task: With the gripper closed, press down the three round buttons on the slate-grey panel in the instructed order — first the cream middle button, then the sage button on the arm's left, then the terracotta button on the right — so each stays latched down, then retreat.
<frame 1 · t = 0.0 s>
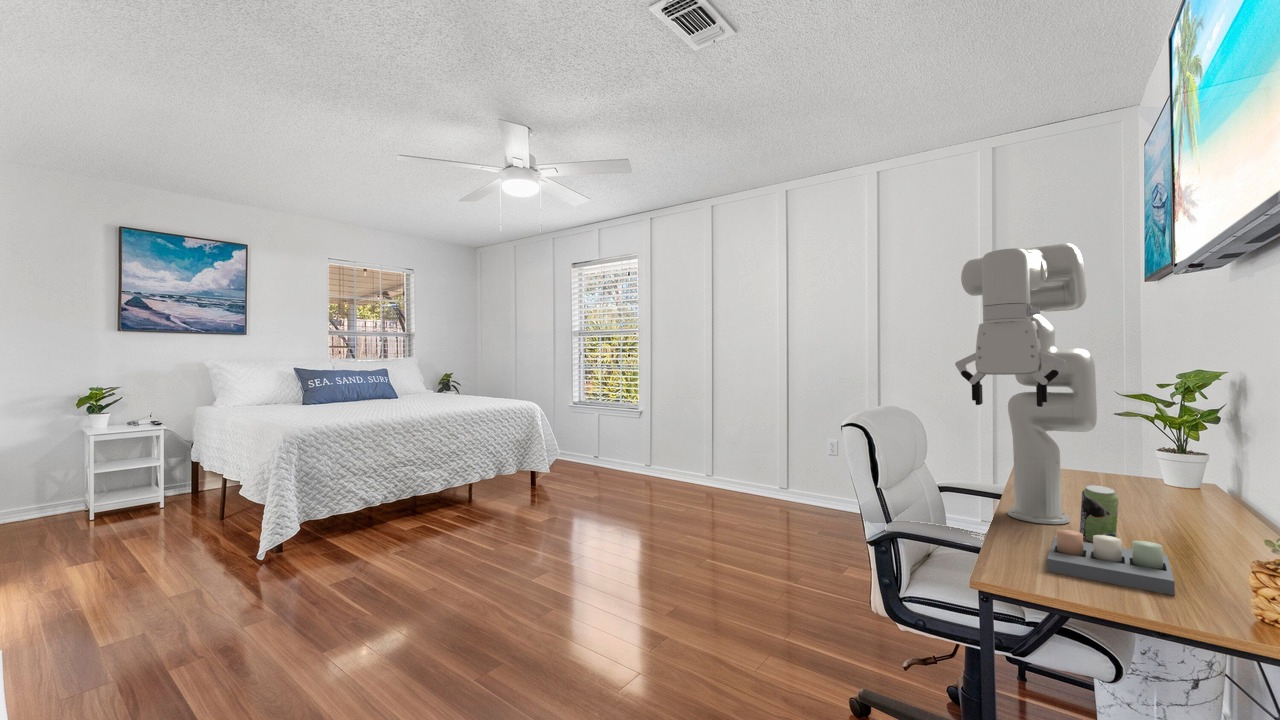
hand: (1008, 405, 102), 31 cm above the table, fingers open, 9 cm apart
beverage can: (1099, 542, 117), on the table
panel: (1107, 569, 102), on the table
sage button: (1147, 554, 98), point 4 cm above the table, slide at 0.0 cm
terracotta button: (1069, 542, 105), point 4 cm above the table, slide at 0.0 cm
cream button: (1107, 548, 101), point 4 cm above the table, slide at 0.0 cm
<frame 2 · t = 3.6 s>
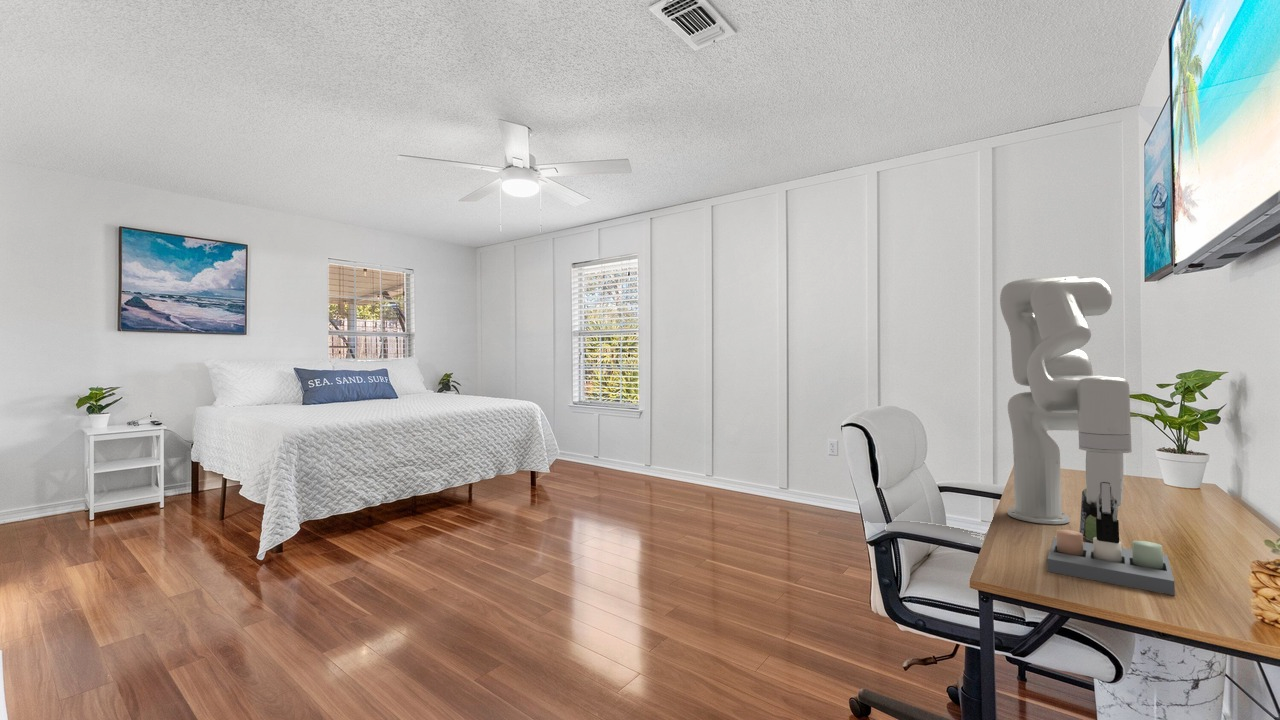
hand: (1107, 540, 101), 6 cm above the table, fingers closed
cream button: (1107, 550, 101), point 4 cm above the table, slide at 0.4 cm, touching gripper
everything else where it was.
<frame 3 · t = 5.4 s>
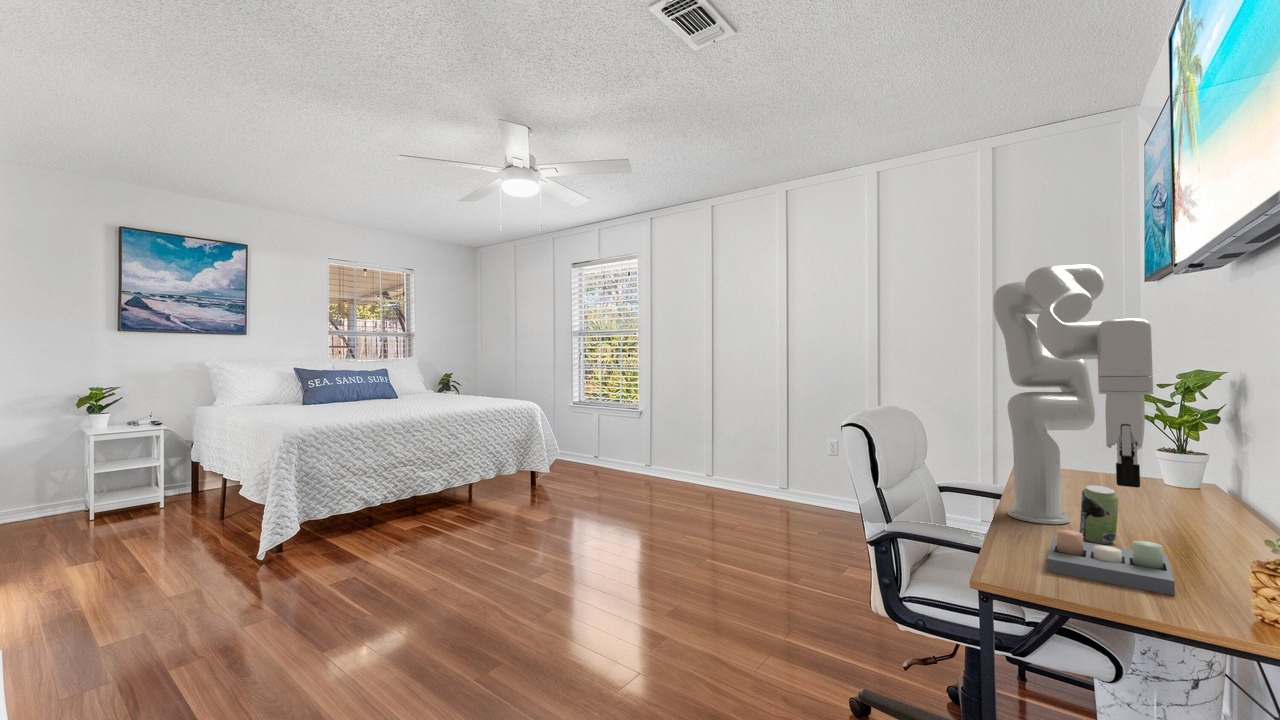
hand: (1128, 485, 99), 16 cm above the table, fingers closed
cream button: (1107, 558, 101), point 2 cm above the table, slide at 2.0 cm
everything else where it was.
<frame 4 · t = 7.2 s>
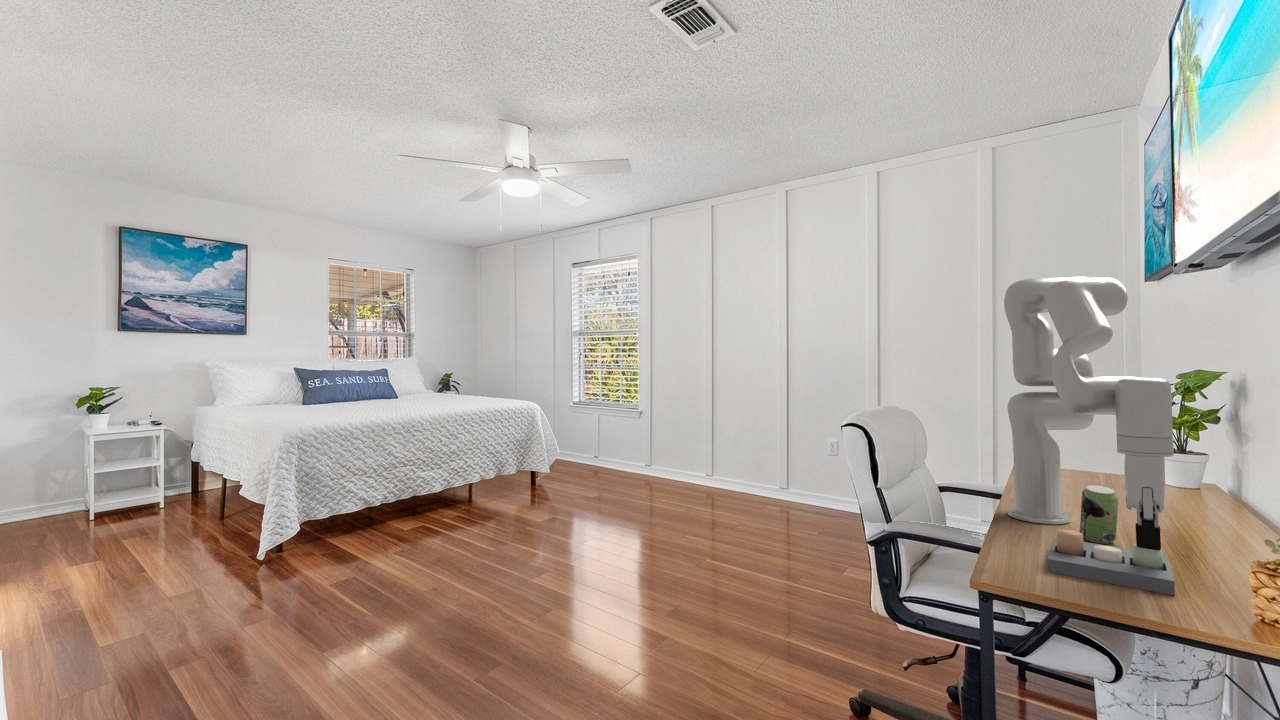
hand: (1148, 547, 98), 5 cm above the table, fingers closed
sage button: (1147, 557, 98), point 4 cm above the table, slide at 0.6 cm, touching gripper
everything else where it was.
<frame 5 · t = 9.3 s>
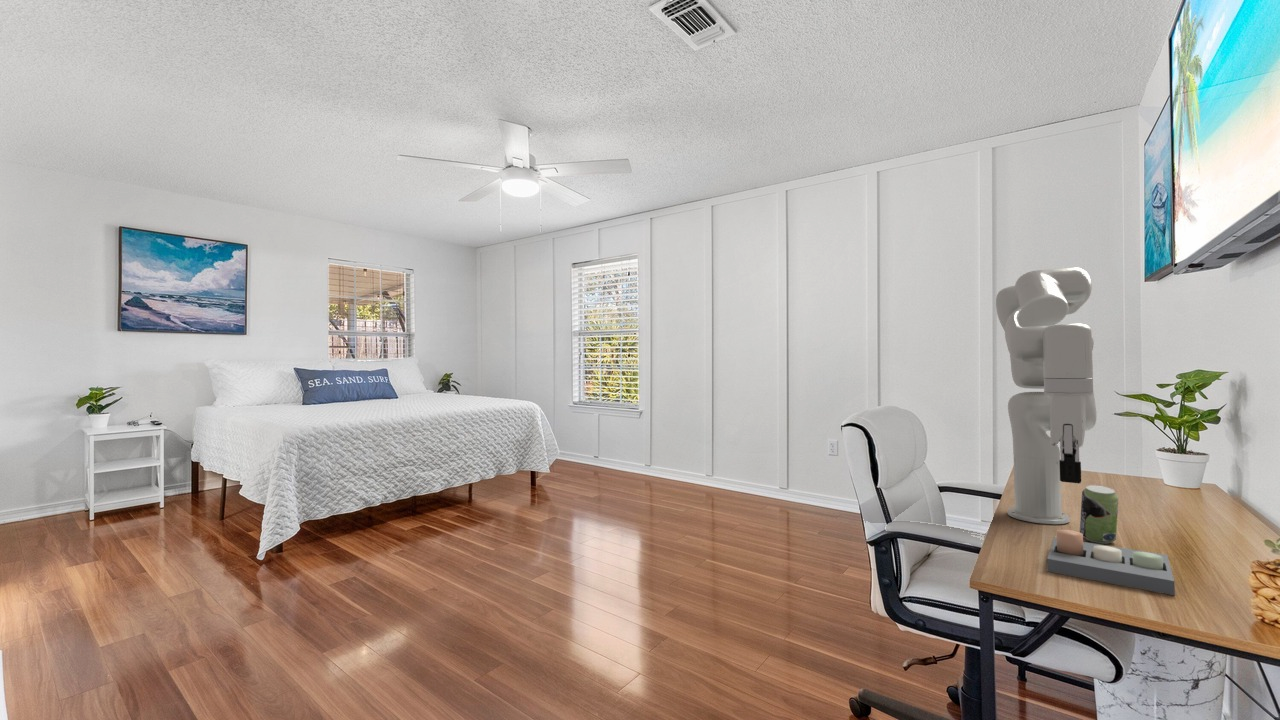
hand: (1070, 481, 105), 16 cm above the table, fingers closed
sage button: (1147, 565, 98), point 2 cm above the table, slide at 2.0 cm
everything else where it was.
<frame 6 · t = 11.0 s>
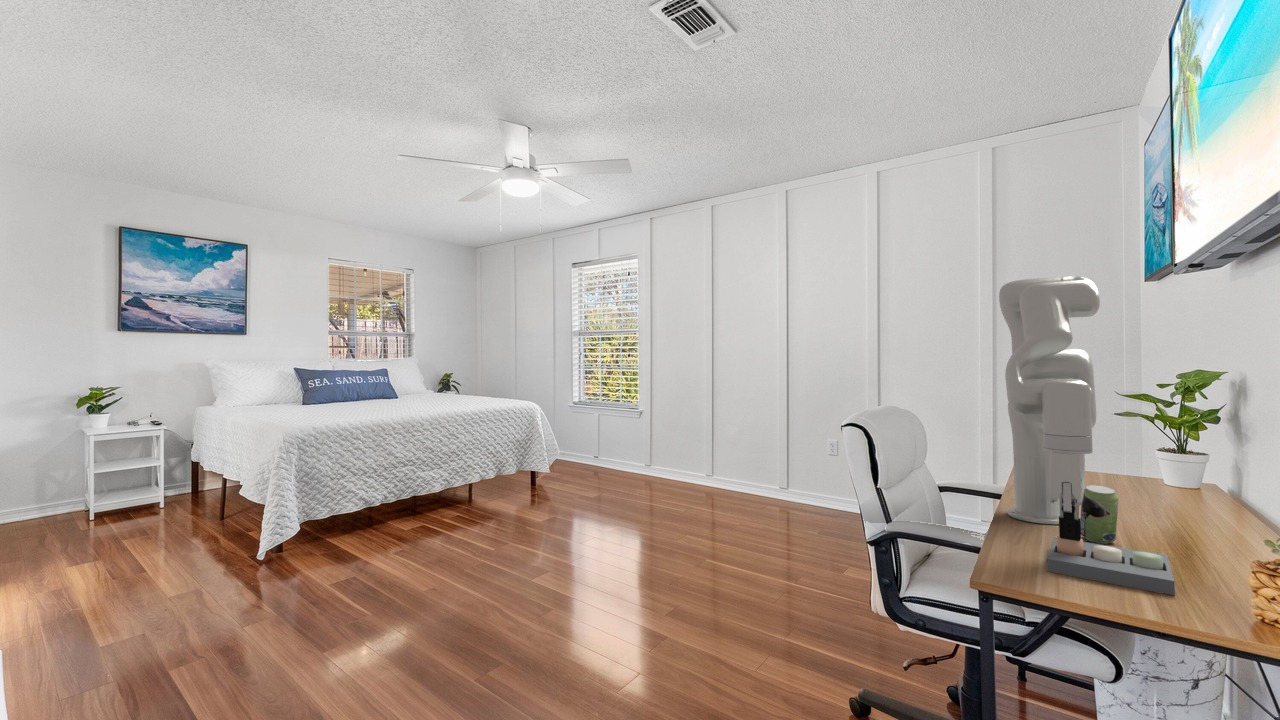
hand: (1070, 538, 105), 5 cm above the table, fingers closed
terracotta button: (1070, 547, 105), point 3 cm above the table, slide at 1.1 cm, touching gripper
everything else where it was.
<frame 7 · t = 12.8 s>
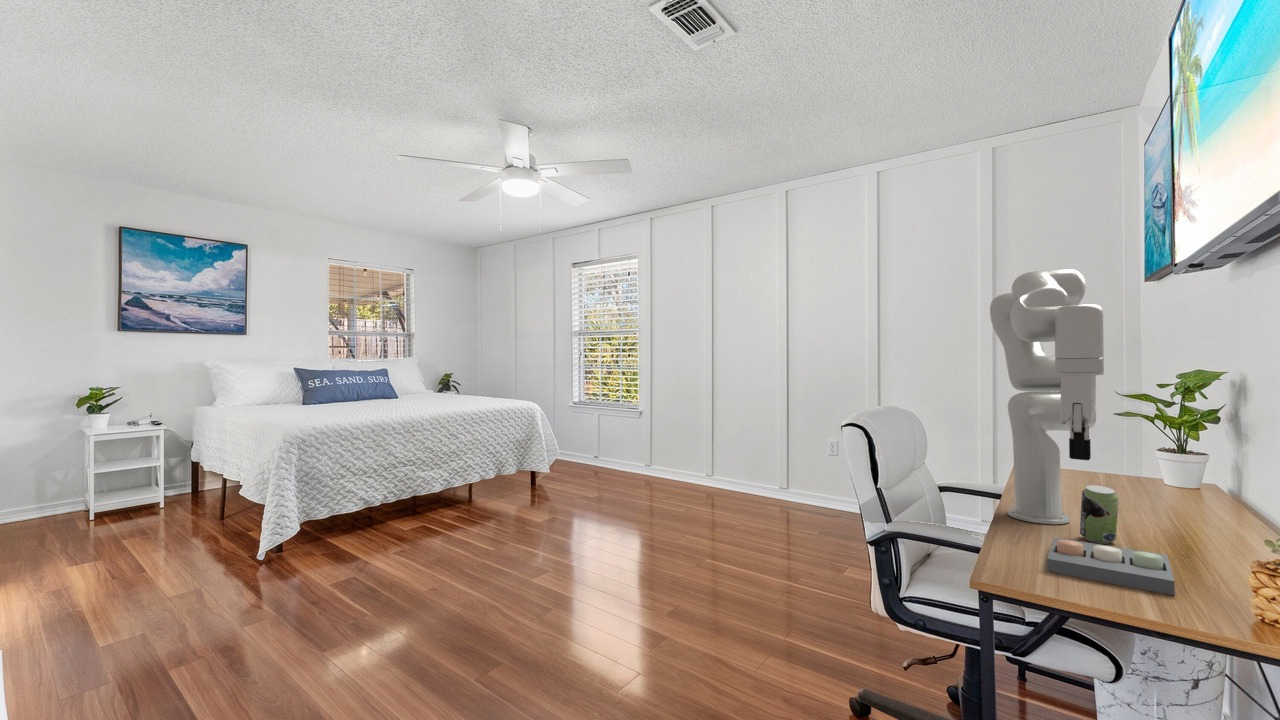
hand: (1079, 458, 108), 20 cm above the table, fingers closed
terracotta button: (1070, 552, 105), point 2 cm above the table, slide at 2.0 cm
everything else where it was.
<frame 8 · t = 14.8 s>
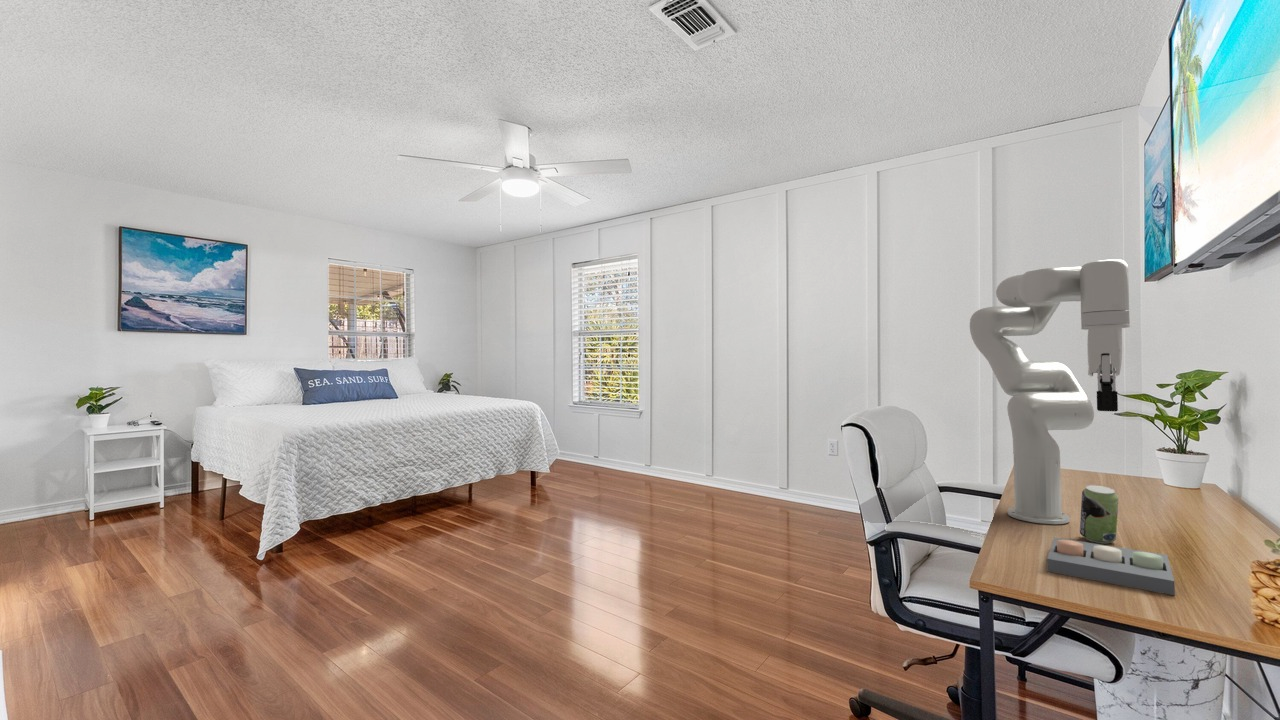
hand: (1107, 410, 110), 29 cm above the table, fingers closed
nothing on the table moved.
at the end: cream button slide at 2.0 cm; sage button slide at 2.0 cm; terracotta button slide at 2.0 cm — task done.
